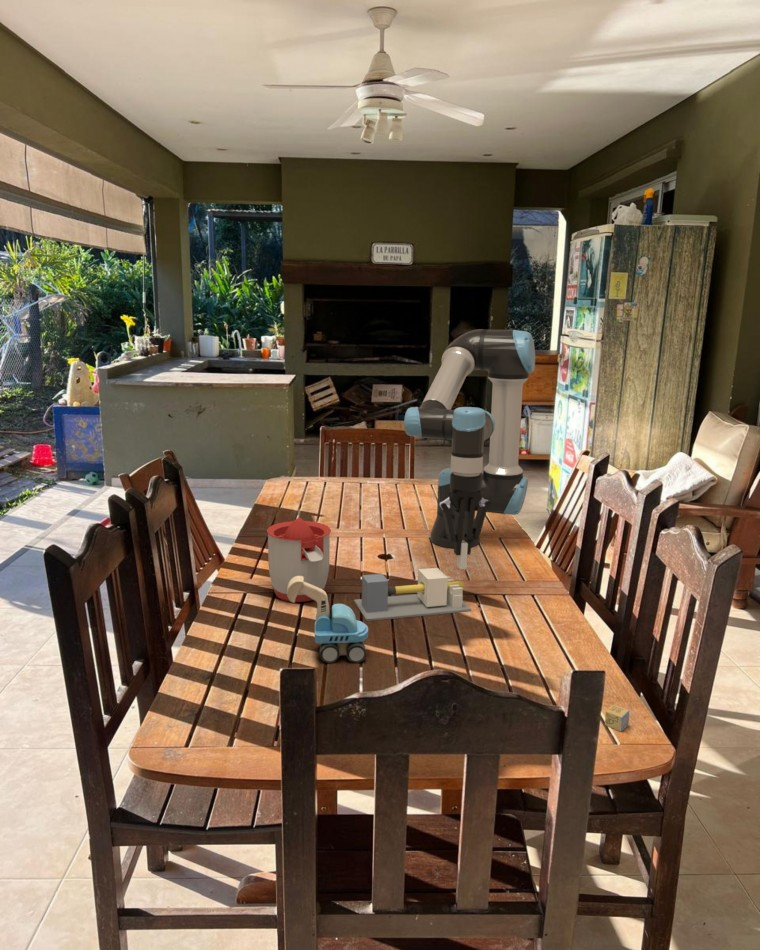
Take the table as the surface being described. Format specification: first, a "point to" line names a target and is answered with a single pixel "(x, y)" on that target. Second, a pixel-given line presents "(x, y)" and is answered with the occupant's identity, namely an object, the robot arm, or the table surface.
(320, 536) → the citrus juicer
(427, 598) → the sleeve
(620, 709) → the alphabet block
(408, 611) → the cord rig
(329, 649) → the toy excavator
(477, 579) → the table surface
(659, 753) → the table surface
